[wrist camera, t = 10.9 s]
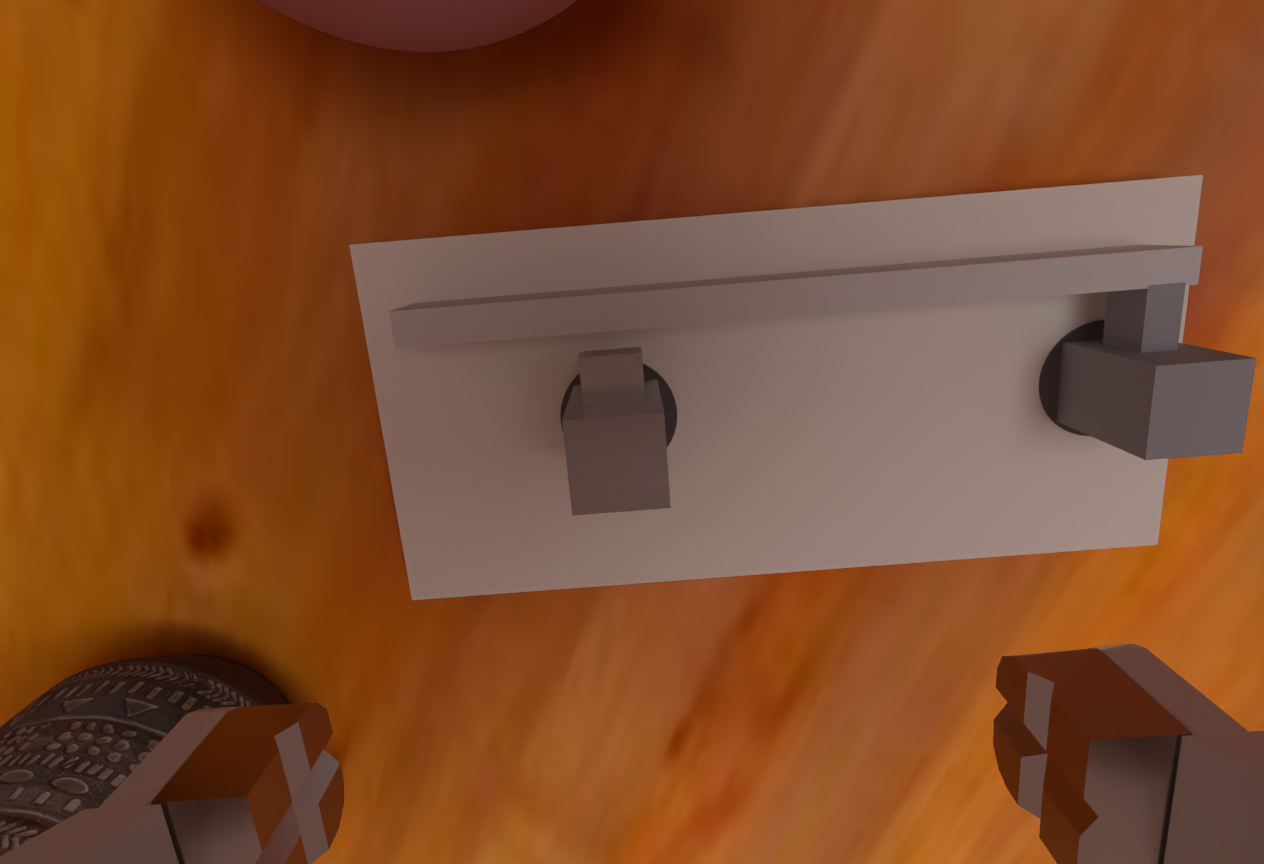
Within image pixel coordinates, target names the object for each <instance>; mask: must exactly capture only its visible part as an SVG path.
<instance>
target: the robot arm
mask: <svg viewBox="0 0 1264 864" xmlns="http://www.w3.org/2000/svg"><path fill="white" fill-rule="evenodd" d="M996 688H997V689H998V691H999V692H1000V693H1001V694H1002V696H1003V697H1004V698H1005V700H1006V701H1007V702H1008V703H1007V704H1006V705H1005V707H1004V708H1003V709H1002V710H1001V711H1000V713H999V714H998V715H997V716H996V718H995V719H994V734H993V745H994V750H995V755H996V759H997V764H998V768H999V771H1000V773H1001V776H1002V778H1003V780H1004V783H1005V785H1006V787H1007V789H1008V790H1009V792H1010V793H1011V795H1012V797H1013V798H1014V800H1015V801H1016V803H1017V804H1018V805H1019V806H1021V807H1022V808H1024V809H1025V810H1027V811H1029V812H1030V813H1032V814H1034V815H1035V816H1037V817H1039V818H1040V819H1041V820H1040V834H1039V837H1040V839H1041V840H1042V842H1043V843H1044V845H1045V846H1046V848H1047V849H1048V851H1049V852H1050V854H1051V855H1052V857H1053V858H1054V860H1055V861H1056V862H1057V864H1264V731H1254V732H1248V731H1247V730H1246V729H1245V728H1243V727H1242V726H1241V725H1240V724H1239V723H1237V722H1236V721H1235V720H1234V719H1232V718H1231V717H1230V716H1229V715H1227V714H1226V713H1225V712H1224V711H1223V710H1221V709H1220V708H1219V707H1218V706H1216V705H1215V704H1214V703H1213V702H1211V701H1210V700H1209V699H1208V698H1207V697H1205V696H1204V695H1203V694H1202V693H1200V692H1199V691H1198V690H1197V689H1195V688H1194V687H1193V686H1192V685H1190V684H1189V683H1188V682H1187V681H1186V680H1184V679H1183V678H1182V677H1181V676H1179V675H1178V674H1177V673H1176V672H1174V671H1173V670H1172V669H1171V668H1170V667H1168V666H1167V665H1166V664H1165V663H1163V662H1162V661H1161V660H1160V659H1158V658H1157V657H1156V656H1155V655H1154V654H1152V653H1151V652H1150V651H1149V650H1147V649H1146V648H1144V647H1141V646H1138V645H1135V644H1123V645H1114V646H1104V647H1094V648H1088V649H1082V650H1071V651H1059V652H1047V653H1036V654H1024V655H1012V656H1002V658H1001V661H1000V663H999V665H998V668H997V678H996ZM332 733H333V731H332V727H331V723H330V720H329V716H328V712H327V709H326V708H324V707H323V706H321V705H320V704H319V703H303V704H282V705H261V706H240V707H237V708H236V707H222V708H209V709H199V710H196V711H193V712H190V713H187V714H186V715H185V716H184V717H183V718H182V719H181V720H180V721H179V722H178V724H177V725H176V726H175V727H174V728H173V729H172V730H171V731H170V732H169V733H168V734H167V735H166V736H165V737H164V739H163V740H162V741H161V742H160V743H159V744H158V745H157V746H156V747H155V748H154V749H153V750H152V751H151V752H150V754H149V755H148V756H147V757H146V758H145V759H144V760H143V761H142V762H141V763H140V764H139V765H138V766H137V767H136V768H135V770H134V771H133V772H132V773H131V774H130V775H129V776H128V777H127V778H126V779H125V780H124V781H123V782H122V783H121V785H120V786H119V787H118V788H117V789H116V790H115V791H114V792H113V793H112V794H111V795H110V796H109V797H108V798H107V800H106V801H105V802H104V803H103V804H102V805H101V806H100V807H99V808H94V809H84V810H82V811H80V812H79V813H77V814H75V815H73V816H71V817H70V818H68V819H66V820H64V821H62V822H61V823H59V824H57V825H55V826H53V827H52V828H50V829H48V830H46V831H45V832H43V833H41V834H39V835H37V836H36V837H34V838H32V839H30V840H28V841H27V842H25V843H23V844H21V845H19V846H18V847H16V848H14V849H12V850H10V851H9V852H7V853H5V854H3V855H2V856H0V864H311V863H313V862H314V861H315V860H316V859H318V858H319V857H320V856H321V855H323V854H324V853H325V852H326V851H328V850H329V848H330V846H331V844H332V842H333V839H334V837H335V835H336V833H337V831H338V829H339V825H340V820H341V815H342V810H343V805H344V780H343V775H342V771H341V766H340V763H339V762H338V761H337V760H335V759H334V758H333V757H332V756H331V755H330V754H329V753H328V752H327V751H326V750H325V749H324V748H325V746H326V744H327V742H328V741H329V739H330V737H331V735H332Z"/></svg>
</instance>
